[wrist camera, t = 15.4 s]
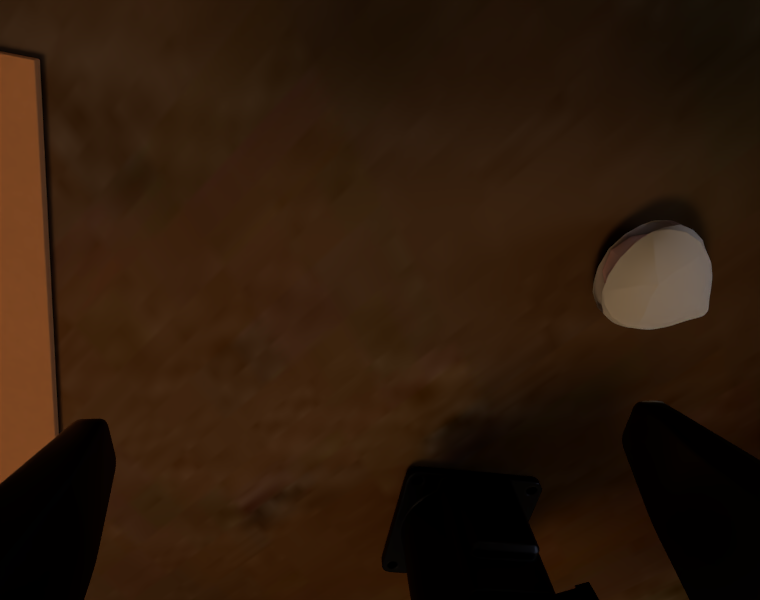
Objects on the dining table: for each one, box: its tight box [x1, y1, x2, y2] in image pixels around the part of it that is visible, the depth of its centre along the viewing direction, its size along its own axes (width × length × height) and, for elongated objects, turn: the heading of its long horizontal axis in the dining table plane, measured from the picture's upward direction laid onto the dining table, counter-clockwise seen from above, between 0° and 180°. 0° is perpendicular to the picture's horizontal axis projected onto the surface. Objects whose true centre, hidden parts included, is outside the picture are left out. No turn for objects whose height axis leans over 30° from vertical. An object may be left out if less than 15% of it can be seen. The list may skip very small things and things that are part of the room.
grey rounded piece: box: [593, 220, 712, 330], centre depth 21 cm, size 4×5×2 cm
